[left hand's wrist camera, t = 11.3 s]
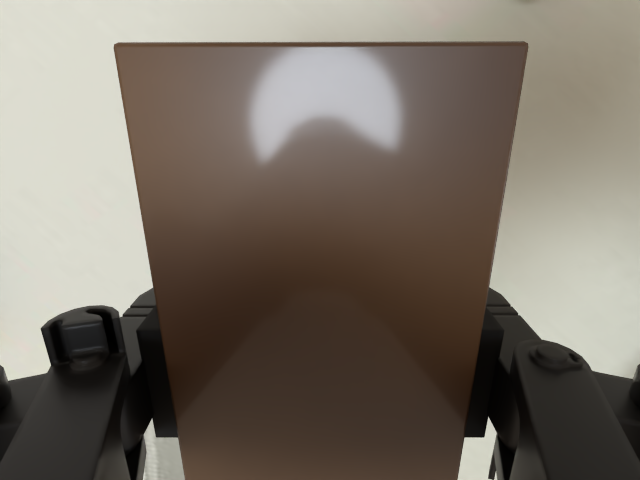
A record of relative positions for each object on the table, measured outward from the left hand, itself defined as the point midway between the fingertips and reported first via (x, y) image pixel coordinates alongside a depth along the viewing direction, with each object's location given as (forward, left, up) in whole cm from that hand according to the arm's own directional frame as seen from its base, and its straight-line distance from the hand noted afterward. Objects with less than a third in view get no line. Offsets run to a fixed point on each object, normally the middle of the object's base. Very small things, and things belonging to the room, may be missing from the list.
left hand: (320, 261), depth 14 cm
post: (-2, +21, -1) cm, 21 cm away
